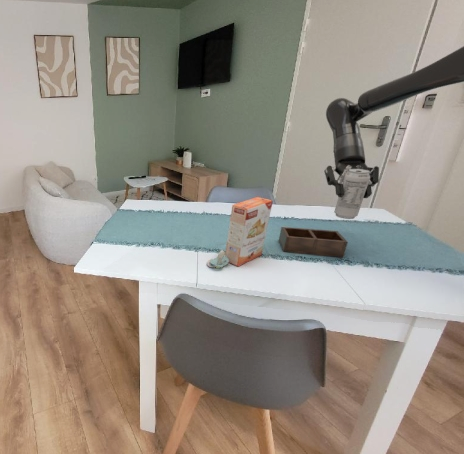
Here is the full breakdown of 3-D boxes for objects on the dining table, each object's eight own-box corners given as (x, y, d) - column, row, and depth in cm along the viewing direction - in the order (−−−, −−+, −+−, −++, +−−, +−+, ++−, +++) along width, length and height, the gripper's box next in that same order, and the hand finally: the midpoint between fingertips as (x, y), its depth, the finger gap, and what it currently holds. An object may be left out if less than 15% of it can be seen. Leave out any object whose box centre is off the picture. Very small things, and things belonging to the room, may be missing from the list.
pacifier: (202, 266, 100) (218, 272, 95) (203, 249, 97) (220, 255, 93) (214, 258, 104) (230, 264, 99) (215, 242, 101) (232, 248, 97)
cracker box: (238, 267, 97) (248, 209, 89) (223, 260, 102) (230, 204, 94) (263, 255, 104) (274, 199, 95) (247, 249, 108) (256, 195, 100)
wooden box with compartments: (333, 245, 108) (337, 231, 105) (343, 257, 100) (348, 242, 97) (278, 240, 114) (281, 226, 111) (283, 251, 105) (286, 237, 103)
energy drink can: (358, 215, 94) (373, 170, 88) (355, 221, 91) (370, 173, 85) (335, 211, 98) (348, 167, 92) (331, 216, 95) (344, 171, 89)
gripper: (327, 144, 94) (332, 190, 89) (382, 144, 90) (390, 191, 85) (318, 157, 101) (321, 200, 96) (368, 158, 97) (375, 203, 91)
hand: (354, 196), depth 90 cm, fingers closed on energy drink can, 6 cm apart
